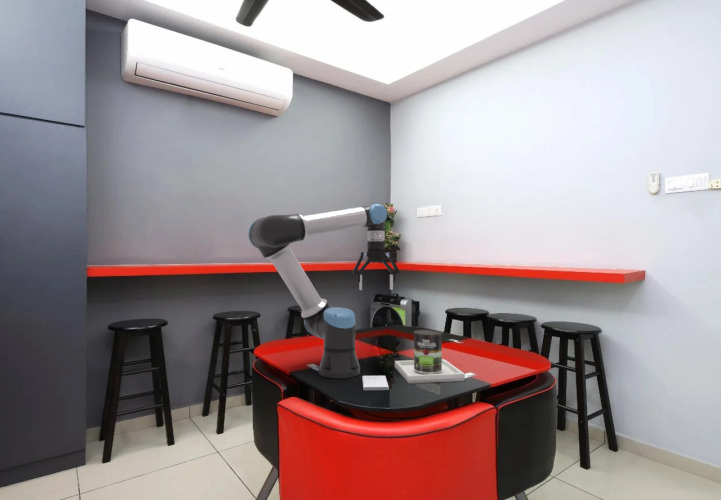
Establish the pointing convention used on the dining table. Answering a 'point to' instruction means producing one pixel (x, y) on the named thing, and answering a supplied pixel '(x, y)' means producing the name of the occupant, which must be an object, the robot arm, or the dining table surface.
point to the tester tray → (446, 375)
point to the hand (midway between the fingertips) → (376, 289)
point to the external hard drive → (375, 383)
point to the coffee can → (428, 351)
